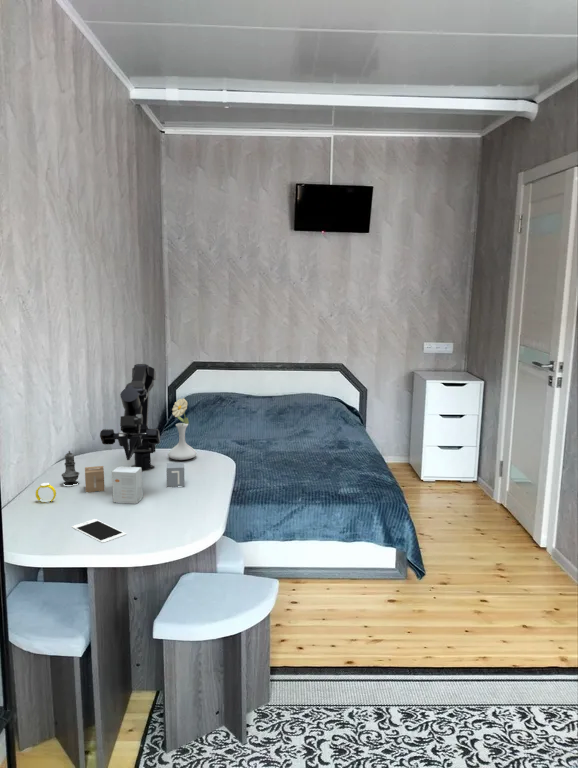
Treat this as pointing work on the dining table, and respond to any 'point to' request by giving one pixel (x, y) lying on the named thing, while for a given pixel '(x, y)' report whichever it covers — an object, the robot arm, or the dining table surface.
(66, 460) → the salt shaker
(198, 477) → the dining table surface
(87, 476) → the brown cardboard box
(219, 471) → the dining table surface
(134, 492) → the small box
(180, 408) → the flower in vase
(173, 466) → the slate block
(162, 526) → the dining table surface
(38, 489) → the watch
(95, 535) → the cell phone
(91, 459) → the dining table surface
